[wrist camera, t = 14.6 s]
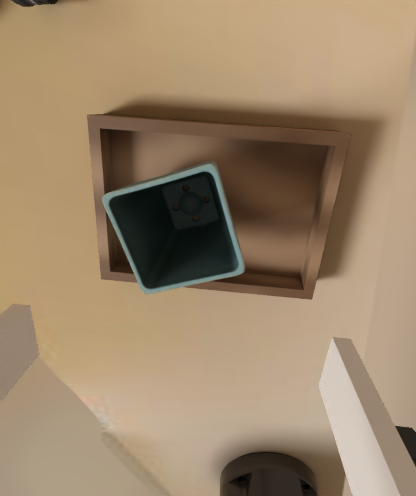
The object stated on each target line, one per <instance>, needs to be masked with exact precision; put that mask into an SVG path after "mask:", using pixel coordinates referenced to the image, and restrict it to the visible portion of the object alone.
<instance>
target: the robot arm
mask: <svg viewBox="0 0 416 496" xmlns="http://www.w3.org/2000/svg"><path fill="white" fill-rule="evenodd" d="M38 355H39V350H38V344H37V339H36V334H35V329H34V324H33V318H32V313H31V308H30V305H20V304H12V305H11V306H10V307H9V308H8V309H7V310H5V311H4V312H3V313H2V314H1V315H0V403H1V401H2V400H3V399H4V398H5V396H6V395H7V394H8V393H9V391H10V390H11V389H12V388H13V386H14V385H15V384H16V383H17V381H18V380H19V379H20V378H21V376H22V375H23V374H24V373H25V371H26V370H27V369H28V368H29V366H30V365H31V364H32V363H33V361H34V360H35V359H36V358H37V356H38ZM319 388H320V392H321V395H322V398H323V402H324V405H325V408H326V411H327V415H328V418H329V421H330V424H331V428H332V431H333V434H334V438H335V441H336V444H337V447H338V451H339V454H340V457H341V461H342V464H343V467H344V470H345V474H346V477H347V480H348V483H349V487H350V490H351V493H352V496H416V432H415V431H414V430H413V429H412V428H409V427H400V426H395V425H394V423H393V422H392V420H391V417H390V416H389V413H388V411H387V409H386V408H385V406H384V404H383V402H382V400H381V398H380V396H379V394H378V392H377V390H376V388H375V386H374V384H373V382H372V380H371V378H370V376H369V374H368V372H367V370H366V368H365V366H364V364H363V362H362V360H361V358H360V356H359V354H358V352H357V350H356V348H355V346H354V344H353V342H352V341H351V339H346V338H336V337H332V340H331V343H330V347H329V350H328V354H327V357H326V361H325V364H324V368H323V371H322V375H321V378H320V382H319ZM220 496H319V493H318V488H317V484H316V479H315V476H314V474H313V473H312V471H311V470H310V469H309V468H308V467H307V466H306V465H305V464H303V463H302V462H300V461H298V460H296V459H294V458H292V457H289V456H285V455H281V454H275V453H255V454H250V455H246V456H243V457H240V458H238V459H236V460H234V461H232V462H231V463H229V464H228V465H227V466H226V467H225V468H224V470H223V472H222V474H221V477H220Z"/></svg>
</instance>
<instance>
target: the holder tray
mask: <svg viewBox="0 0 416 496" xmlns="http://www.w3.org/2000/svg"><path fill="white" fill-rule="evenodd" d="M87 119H88V131H89V142H90V154H91V166H92V177H93V189H94V200H95V212H96V224H97V235H98V247H99V259H100V270H101V279H104V280H115V281H125V282H135V283H138V282H137V279H136V277H135V274H134V272H133V270H132V267H131V265H130V263H129V260H128V258H127V256H126V253H125V251H124V249H123V247H122V244H121V242H120V240H119V238H118V236H117V233H116V231H115V229H114V227H113V225H112V222H111V220H110V218H109V216H108V214H107V212H106V209H105V207H104V204H103V202H102V197H103V196H104V195H105V194H106V193H109V192H111V191H114V190H117V189H119V188H122V187H125V186H127V185H130V184H133V183H136V182H140V181H144V180H148V179H151V178H155V177H158V176H162V175H165V174H169V173H172V172H176V171H179V170H182V169H186V168H189V167H192V166H195V165H199V164H202V163H205V162H209V161H213V162H215V163H216V164H217V166H218V169H219V172H220V176H221V180H222V183H223V187H224V191H225V194H226V198H227V201H228V205H229V209H230V212H231V216H232V219H233V223H234V226H235V230H236V234H237V237H238V240H239V244H240V248H241V252H242V256H243V261H244V264H245V271H244V272H243V273H242V274H240V275H237V276H232V277H228V278H222V279H217V280H213V281H208V282H203V283H199V284H194V285H189V286H185V287H187V288H197V289H208V290H218V291H229V292H239V293H249V294H260V295H270V296H280V297H291V298H301V299H311V300H312V297H313V293H314V289H315V284H316V280H317V276H318V272H319V267H320V263H321V259H322V255H323V250H324V246H325V242H326V238H327V234H328V229H329V225H330V221H331V217H332V212H333V208H334V204H335V200H336V196H337V191H338V187H339V183H340V179H341V174H342V170H343V166H344V162H345V158H346V153H347V149H348V145H349V141H350V136H351V134H348V133H344V132H339V131H328V130H314V129H300V128H287V127H273V126H259V125H245V124H232V123H218V122H204V121H190V120H177V119H163V118H149V117H135V116H122V115H108V114H95V115H87ZM183 188H184V190H188V189H189V187H188V186H187V185H185V186H184V187H183ZM204 201H209V197H207V196H206V197H204ZM173 207H174V209H178V205H174V206H173ZM193 218H194V219H195V220H197V219H198V216H196V215H195V216H194V217H193Z"/></svg>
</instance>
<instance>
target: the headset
mask: <svg viewBox="0 0 416 496" xmlns="http://www.w3.org/2000/svg"><path fill="white" fill-rule="evenodd" d="M12 1H13V2H14V3H16V4H19V5H21V6H23V7H29V6H34V5H42V4H55V3H56V2H57V1H58V0H12Z"/></svg>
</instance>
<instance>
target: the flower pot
mask: <svg viewBox="0 0 416 496" xmlns="http://www.w3.org/2000/svg"><path fill="white" fill-rule="evenodd" d="M185 185H187V186H188V187H189V189H188V190H184V188H183V187H184V186H185ZM206 196H207V197H209V201H204V197H206ZM102 202H103V204H104V207H105V209H106V212H107V214H108V216H109V218H110V220H111V222H112V225H113V227H114V229H115V231H116V233H117V236H118V238H119V240H120V242H121V244H122V247H123V249H124V251H125V253H126V256H127V258H128V260H129V263H130V265H131V267H132V270H133V272H134V274H135V277H136V279H137V282H138V285H139V287H140V289H141V290H142V291H143V293H145V294H153V293H157V292H162V291H166V290H171V289H175V288H180V287H185V286H189V285H194V284H199V283H203V282H208V281H213V280H217V279H222V278H228V277H232V276H237V275H240V274H242V273H243V272H244V271H245V264H244V261H243V256H242V252H241V248H240V244H239V240H238V237H237V234H236V230H235V226H234V223H233V219H232V216H231V212H230V209H229V205H228V201H227V198H226V194H225V191H224V187H223V183H222V180H221V176H220V172H219V169H218V166H217V164H216V163H215V162H213V161H209V162H205V163H202V164H199V165H195V166H192V167H189V168H186V169H182V170H179V171H176V172H172V173H169V174H165V175H162V176H158V177H155V178H151V179H148V180H144V181H140V182H136V183H133V184H130V185H127V186H125V187H122V188H119V189H117V190H114V191H111V192H109V193H106V194H105V195H104V196H103V197H102ZM174 205H178V209H174V207H173V206H174ZM195 215H196V216H198V219H197V220H195V219H194V218H193V217H194V216H195Z"/></svg>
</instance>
